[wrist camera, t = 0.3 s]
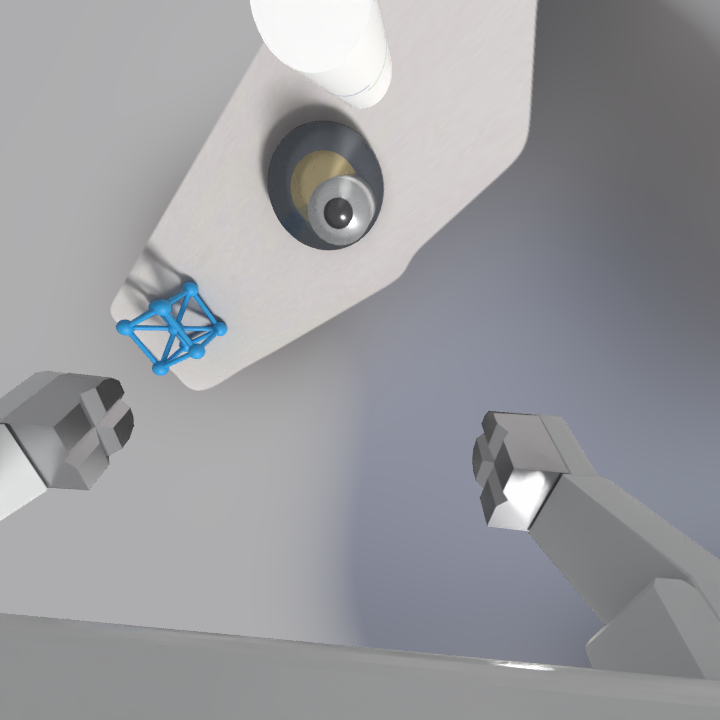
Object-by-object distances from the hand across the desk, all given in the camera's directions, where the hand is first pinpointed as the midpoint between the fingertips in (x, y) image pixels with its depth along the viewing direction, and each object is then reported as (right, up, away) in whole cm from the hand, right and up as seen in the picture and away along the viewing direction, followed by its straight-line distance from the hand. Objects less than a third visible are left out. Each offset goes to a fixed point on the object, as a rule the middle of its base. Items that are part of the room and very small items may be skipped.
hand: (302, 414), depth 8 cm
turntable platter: (-3, +24, +39) cm, 46 cm away
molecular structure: (-27, +9, +53) cm, 61 cm away
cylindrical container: (+1, +35, +34) cm, 49 cm away
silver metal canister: (0, +21, +39) cm, 44 cm away
